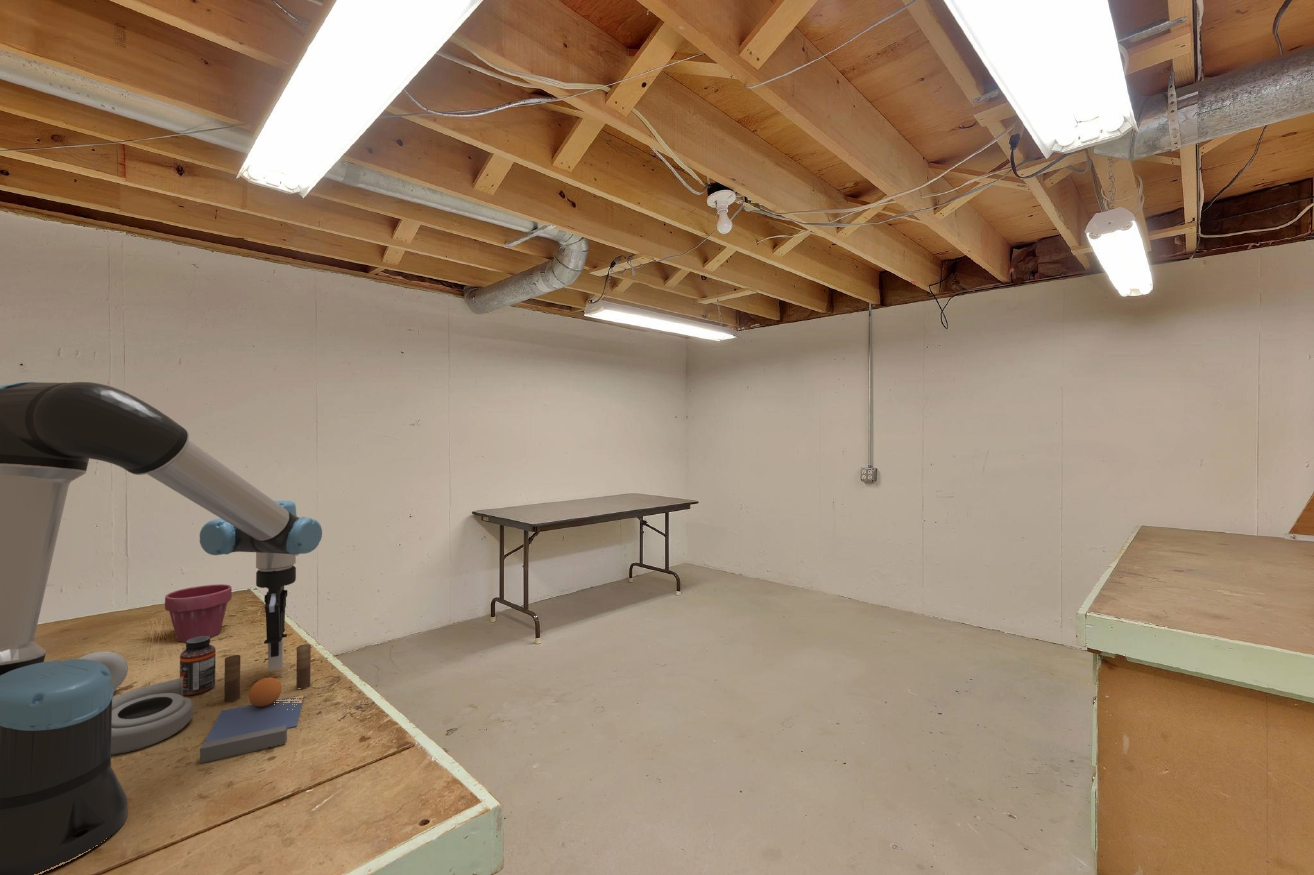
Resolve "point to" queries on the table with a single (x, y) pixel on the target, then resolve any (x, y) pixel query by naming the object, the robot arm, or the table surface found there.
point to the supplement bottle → (198, 666)
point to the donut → (111, 665)
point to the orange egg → (265, 692)
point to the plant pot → (198, 610)
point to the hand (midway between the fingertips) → (275, 668)
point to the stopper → (242, 744)
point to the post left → (232, 678)
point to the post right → (303, 666)
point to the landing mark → (254, 719)
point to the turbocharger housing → (148, 715)
